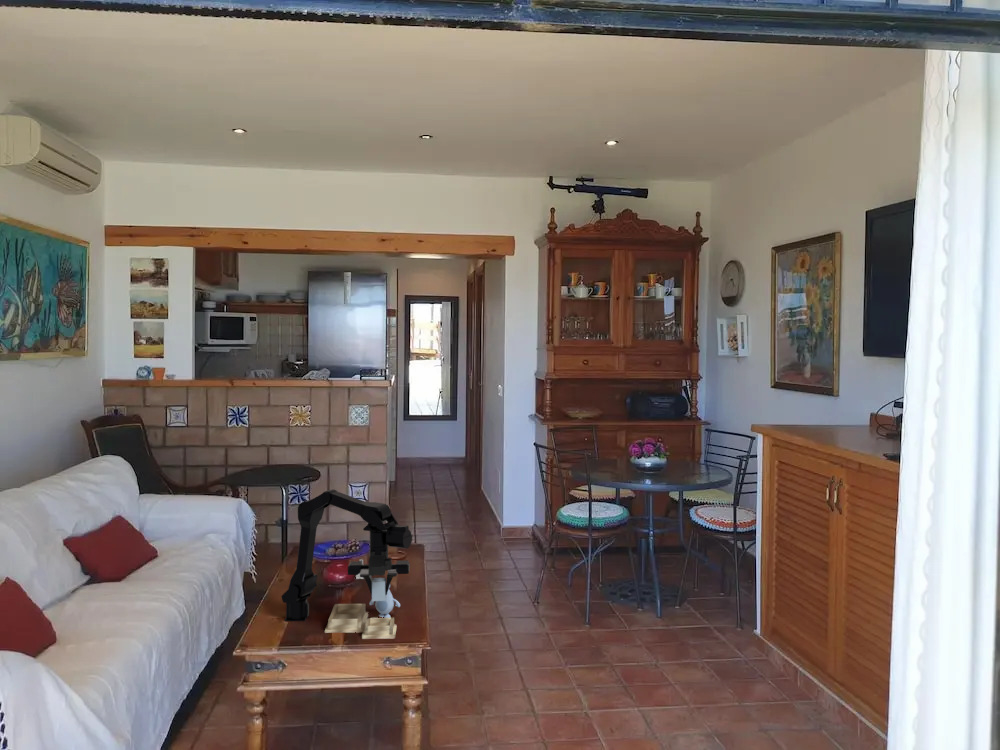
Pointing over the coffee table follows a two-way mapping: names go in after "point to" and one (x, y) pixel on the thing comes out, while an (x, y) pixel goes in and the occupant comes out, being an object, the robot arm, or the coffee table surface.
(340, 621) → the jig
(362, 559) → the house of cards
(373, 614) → the coffee table surface
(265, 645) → the coffee table surface
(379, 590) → the block
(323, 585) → the coffee table surface
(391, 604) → the toy figure
